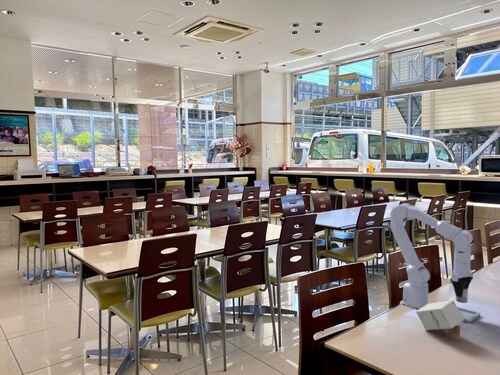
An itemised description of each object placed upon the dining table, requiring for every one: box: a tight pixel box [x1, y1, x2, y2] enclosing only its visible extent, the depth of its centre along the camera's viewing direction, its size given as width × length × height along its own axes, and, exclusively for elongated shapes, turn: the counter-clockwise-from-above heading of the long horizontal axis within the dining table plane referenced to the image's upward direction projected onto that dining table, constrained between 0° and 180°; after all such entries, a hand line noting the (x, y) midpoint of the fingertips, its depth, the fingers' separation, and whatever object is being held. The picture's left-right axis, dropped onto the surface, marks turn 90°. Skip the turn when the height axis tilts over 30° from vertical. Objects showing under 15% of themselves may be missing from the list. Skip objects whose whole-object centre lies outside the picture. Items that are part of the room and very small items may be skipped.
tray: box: [457, 306, 481, 324], centre depth 151 cm, size 11×11×1 cm
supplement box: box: [415, 299, 464, 331], centre depth 135 cm, size 7×7×13 cm
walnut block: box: [444, 324, 461, 342], centre depth 133 cm, size 4×4×4 cm
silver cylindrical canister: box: [455, 288, 469, 304], centre depth 150 cm, size 4×4×5 cm
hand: (461, 295), depth 150 cm, fingers closed on silver cylindrical canister, 4 cm apart
